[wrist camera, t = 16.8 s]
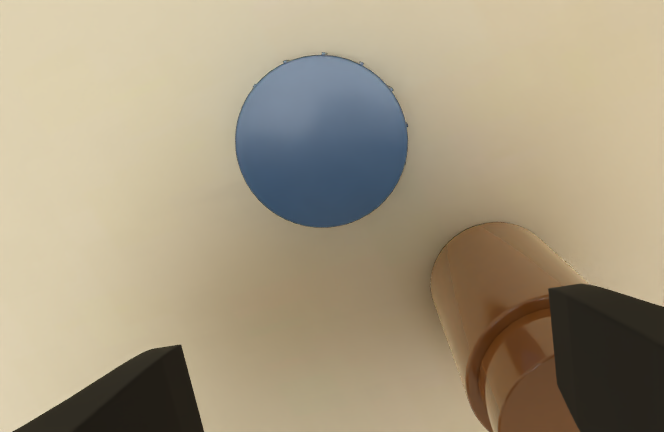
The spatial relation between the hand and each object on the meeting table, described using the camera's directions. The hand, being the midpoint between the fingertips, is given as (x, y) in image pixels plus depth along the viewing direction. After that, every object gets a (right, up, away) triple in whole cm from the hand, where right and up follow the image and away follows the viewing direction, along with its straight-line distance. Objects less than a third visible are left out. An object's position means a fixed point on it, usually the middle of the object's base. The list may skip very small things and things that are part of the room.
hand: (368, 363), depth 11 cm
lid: (-1, +5, +6) cm, 8 cm away
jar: (+5, 0, +9) cm, 11 cm away
